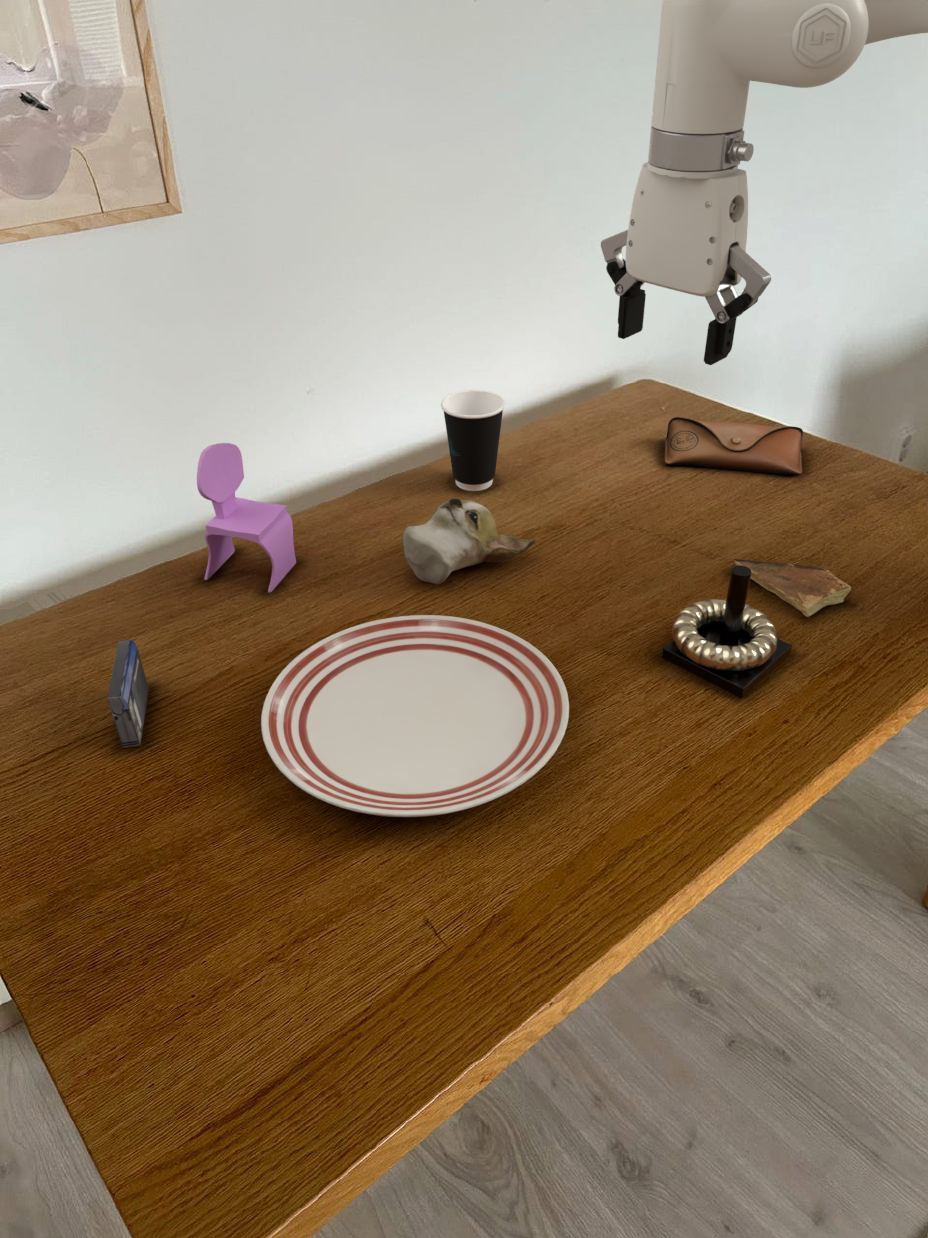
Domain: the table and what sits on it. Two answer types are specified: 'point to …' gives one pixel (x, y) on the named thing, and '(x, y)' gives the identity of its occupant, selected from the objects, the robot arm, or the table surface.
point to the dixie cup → (473, 436)
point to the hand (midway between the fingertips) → (671, 347)
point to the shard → (798, 584)
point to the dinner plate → (415, 716)
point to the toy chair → (241, 514)
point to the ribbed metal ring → (723, 655)
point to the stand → (730, 642)
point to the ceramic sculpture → (458, 541)
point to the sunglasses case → (734, 446)
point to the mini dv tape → (128, 694)
